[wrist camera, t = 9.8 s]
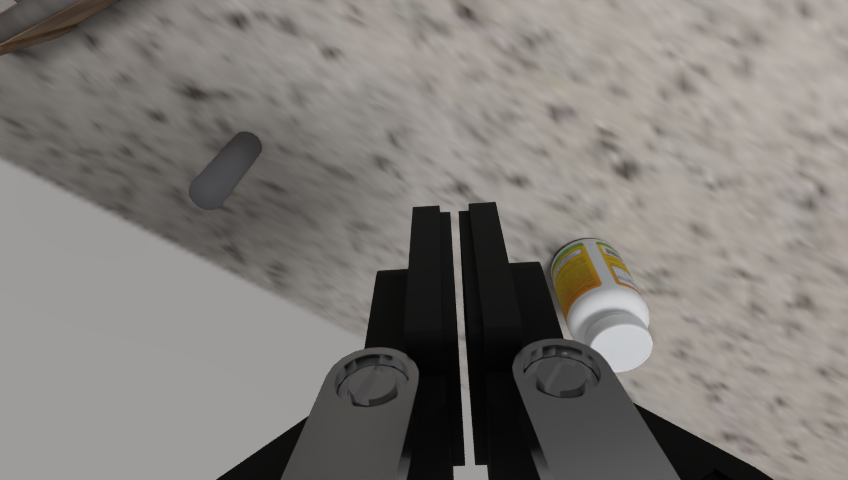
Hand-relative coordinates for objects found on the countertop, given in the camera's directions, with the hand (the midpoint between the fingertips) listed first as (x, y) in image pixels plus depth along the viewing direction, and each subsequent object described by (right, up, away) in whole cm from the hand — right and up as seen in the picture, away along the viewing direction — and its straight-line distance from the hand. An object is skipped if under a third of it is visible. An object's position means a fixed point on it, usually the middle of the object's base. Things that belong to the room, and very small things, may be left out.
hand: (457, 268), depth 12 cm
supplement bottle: (+12, -1, +32) cm, 34 cm away
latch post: (-13, +7, +27) cm, 31 cm away
